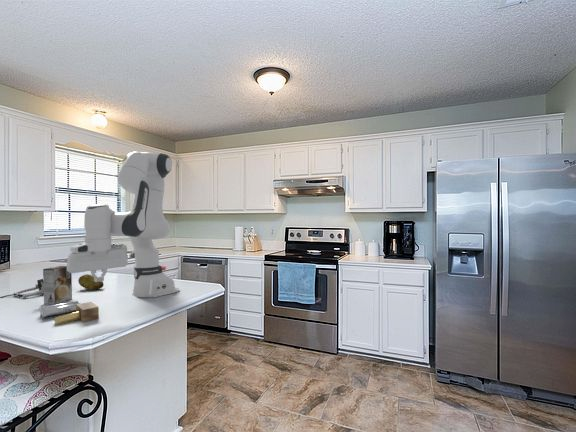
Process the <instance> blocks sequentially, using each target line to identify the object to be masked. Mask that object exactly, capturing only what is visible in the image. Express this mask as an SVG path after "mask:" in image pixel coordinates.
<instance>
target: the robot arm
mask: <svg viewBox="0 0 576 432" xmlns="http://www.w3.org/2000/svg"><path fill="white" fill-rule="evenodd" d="M172 167H173V165H172V159H171V157H170V156H169V155H168V154H166V153H159V152H154V151H153V152H152V151H148V152H147V151H146V152H143V151H142V152H141V151H133V152H129V153H128V154H127V155H126V156H125V157H124V162H123V163H122V166H121V168H120V170H119V172H118V176H117V181H118V184H119V185H120V187H121V188H122V189H123V190H124V191H126V192H128V193H130V194H133V195H134V199H133V203H132V204H133V205H132V209H131V210H130V211H128V212H116V211H114V210H112V209H111V208H110V206H109V204H106V203H98V204H97V203H96V204H91V205H88V206H86V208H85V212H84V224H83V225H84V230H85V235H84V241H83V242H80V243H78V244H74V245H72V246H70V247H69V249H70V253H69V255H68V257H67V259H66V266H67V271H68V272H69V273H71V274H76V273H77V274H78V273H85V272H90V275H92V276H93V277H94V282H99V281H103V282H104V281H105V276H106V274H107V272H108V270H109V269H117V268H124V267H125V268H126V267H127V265H128V264H129V261H128V254H127V253H128V246H127V245H125V244H123V243H120V244H119V243H118V244H112V236H116V237H123V236H124V237H125V236H126V237H128V238H129V239H130V243H131V244H132V247H133V250H134V266H135V267H134V269H133V276H134V284H133V289H132V292H131V293H132V294H131V295H132V296H133V297H136V298H159V297H161V296H166V295H169V294H173V293H174V294H175V293H177V292H179V291H180V288H179V287H177V286H176V285H175V281H174V279H173V278H172V277H171V276H169V275H167V274H166V273H165V272H163V271H166V270H167V267H166V266H161V265H160V251H159V249H158V248H157V247H156V246H155V244H154V243H153V242H154V241H153V240H160V239H164V238H166V237H168V235H169V233H170V230H171V226H170V222H169V221H168V220H167V219H166V218H165V215H164V212H163V211H164V210H163V202H164V196H165V195H164V193H165V178H166V177H167V175H169V173H170V172H171V170H172ZM97 271H101V274H100V275H98V276H97V275H96V274H97Z"/></svg>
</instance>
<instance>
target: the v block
mask: <svg viewBox="0 0 576 432" xmlns="http://www.w3.org/2000/svg"><path fill="white" fill-rule="evenodd" d="M76 304H81V302H79V301H78V300H75V301H68V302H61V303H57V304H50V305H46V306H41V307H40V308H39V313H40V314H39V316H40V318H41V319H42V320H43V321H46V320H50V319H55V318H56V317H59V316H63V315H67V314H70V313H74V312H76Z"/></svg>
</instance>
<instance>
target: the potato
mask: <svg viewBox="0 0 576 432" xmlns="http://www.w3.org/2000/svg"><path fill="white" fill-rule="evenodd" d="M77 281H78V284H79V285H80V286H81V287H82V288H84V289H85V290H87V291H96V290H100V289H102V288H103V287H104V281H99V282H94V277H93V275H92V274H82V275H81V276H80V277H78V280H77Z"/></svg>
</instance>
